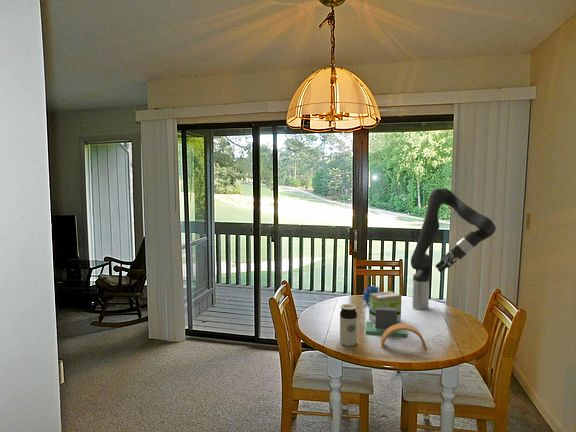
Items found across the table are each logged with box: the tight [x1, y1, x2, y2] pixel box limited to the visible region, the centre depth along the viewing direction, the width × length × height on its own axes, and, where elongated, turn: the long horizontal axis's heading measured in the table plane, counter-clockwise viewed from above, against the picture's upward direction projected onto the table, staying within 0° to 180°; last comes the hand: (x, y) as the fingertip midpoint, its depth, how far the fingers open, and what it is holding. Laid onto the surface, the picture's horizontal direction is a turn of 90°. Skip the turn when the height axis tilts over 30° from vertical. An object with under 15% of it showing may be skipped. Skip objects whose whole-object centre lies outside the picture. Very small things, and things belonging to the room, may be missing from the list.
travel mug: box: [339, 303, 358, 347], centre depth 182 cm, size 8×8×18 cm
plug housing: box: [375, 307, 398, 329], centre depth 197 cm, size 5×10×10 cm, turn 77°
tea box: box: [368, 290, 402, 322], centre depth 213 cm, size 15×10×15 cm
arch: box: [380, 323, 427, 351], centre depth 178 cm, size 6×20×10 cm, turn 80°
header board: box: [365, 321, 408, 338], centre depth 198 cm, size 14×20×4 cm
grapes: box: [362, 284, 381, 305], centre depth 243 cm, size 12×7×12 cm, turn 104°
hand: (437, 269), depth 201 cm, fingers open, 8 cm apart
